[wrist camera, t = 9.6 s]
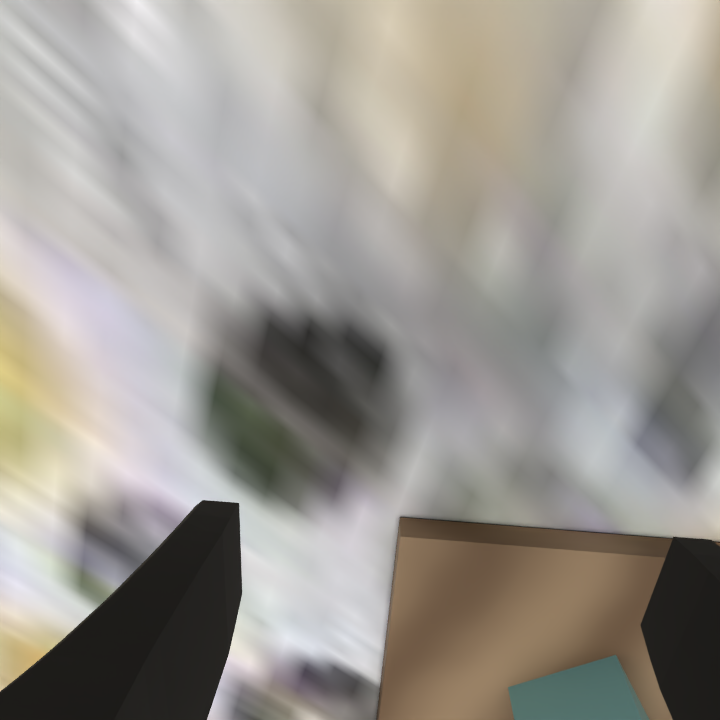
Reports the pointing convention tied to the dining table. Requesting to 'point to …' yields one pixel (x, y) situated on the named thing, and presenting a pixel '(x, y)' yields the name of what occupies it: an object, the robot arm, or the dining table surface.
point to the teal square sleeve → (579, 695)
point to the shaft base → (511, 615)
